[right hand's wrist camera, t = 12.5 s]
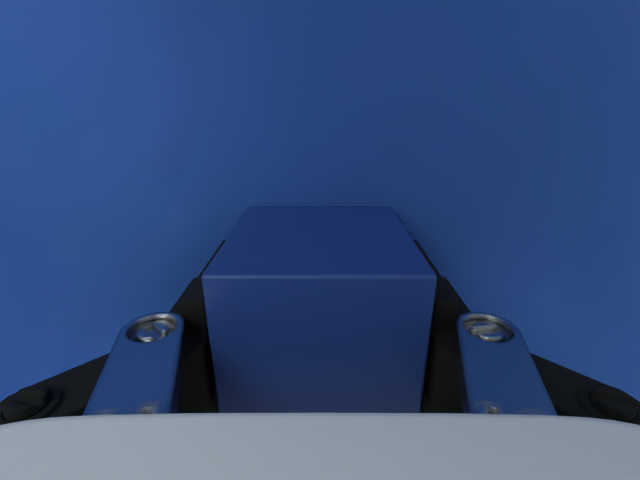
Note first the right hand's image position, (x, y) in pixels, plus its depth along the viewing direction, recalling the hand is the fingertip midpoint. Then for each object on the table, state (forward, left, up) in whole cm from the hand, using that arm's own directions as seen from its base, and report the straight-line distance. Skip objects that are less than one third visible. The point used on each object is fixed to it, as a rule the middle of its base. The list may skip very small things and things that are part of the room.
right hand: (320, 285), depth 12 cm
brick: (0, 0, -1) cm, 1 cm away
